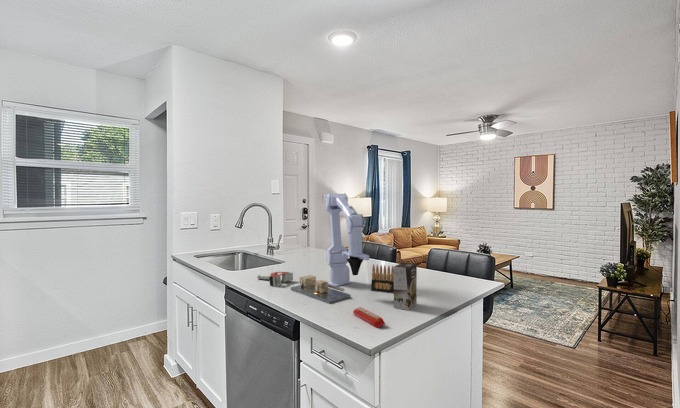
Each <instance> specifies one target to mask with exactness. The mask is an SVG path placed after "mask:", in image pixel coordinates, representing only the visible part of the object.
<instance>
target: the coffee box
mask: <svg viewBox="0 0 680 408" xmlns="http://www.w3.org/2000/svg"><path fill="white" fill-rule="evenodd" d="M393 267H394V293H393V308H394V309H400V310H405V311H410V310H412V309H413V308H414V307H415V306H416V305H417V303H418V301H417V297H418V295H417V293H418V291H417V290H418V289H417V286H418V285H417V281H418V279H417V276H418V274H417V273H418V272H417V270H418V269H417V268H418V267H417V263H408V262H401V263H399V264H395V265H393Z"/></svg>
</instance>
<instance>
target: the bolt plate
mask: <svg viewBox="0 0 680 408" xmlns="http://www.w3.org/2000/svg"><path fill="white" fill-rule="evenodd" d="M290 291H293V292H295V293H298V294H301V295H304V296H307V297H309V298H312V299H315V300H318V301H321V302H324V303H326V304H328V303H330V304H333V303H337V302H339V301H343V300H346V299H350V298H351V297H352V295H351V294H350V293H346V292H345V291H340V290H336V289H333V288H330V287H328V291H326V292H323V293H320V292H317V291H315V286H312V287H308V288H304V287H301V286H300V284H299V285H296V286H291V287H290Z"/></svg>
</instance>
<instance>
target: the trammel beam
mask: <svg viewBox="0 0 680 408" xmlns="http://www.w3.org/2000/svg"><path fill="white" fill-rule="evenodd" d="M315 281H318V280H317V276H315V275H311V274H309V275H308V274H307V275H304V276H303V275H302V276H300V277H299V285H300V286H301V287H304V288H308V287H312V286H315ZM328 288H331V289H334V290H337V291H340V292H345V291H346V290H345V287H344V288H343V287H340V286H335V285H331V284H328Z"/></svg>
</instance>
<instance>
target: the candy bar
mask: <svg viewBox="0 0 680 408" xmlns="http://www.w3.org/2000/svg"><path fill="white" fill-rule="evenodd" d="M352 313H353V315H354V316H355V317H357V318H358V319H360V320H361V321H364V322H366V323H367V324H369V325H371V326H373V327H374V328H378V329H379V328H380V327H382V326H383V325H385V324H386V322H385V320H384V319H383V318H382V317H381V316H380V315H377V314H375V313H373V312H372V311H370V310H367V309H366V308H364V307H361V306H360V307H357V308H354V309H353V312H352Z"/></svg>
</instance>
